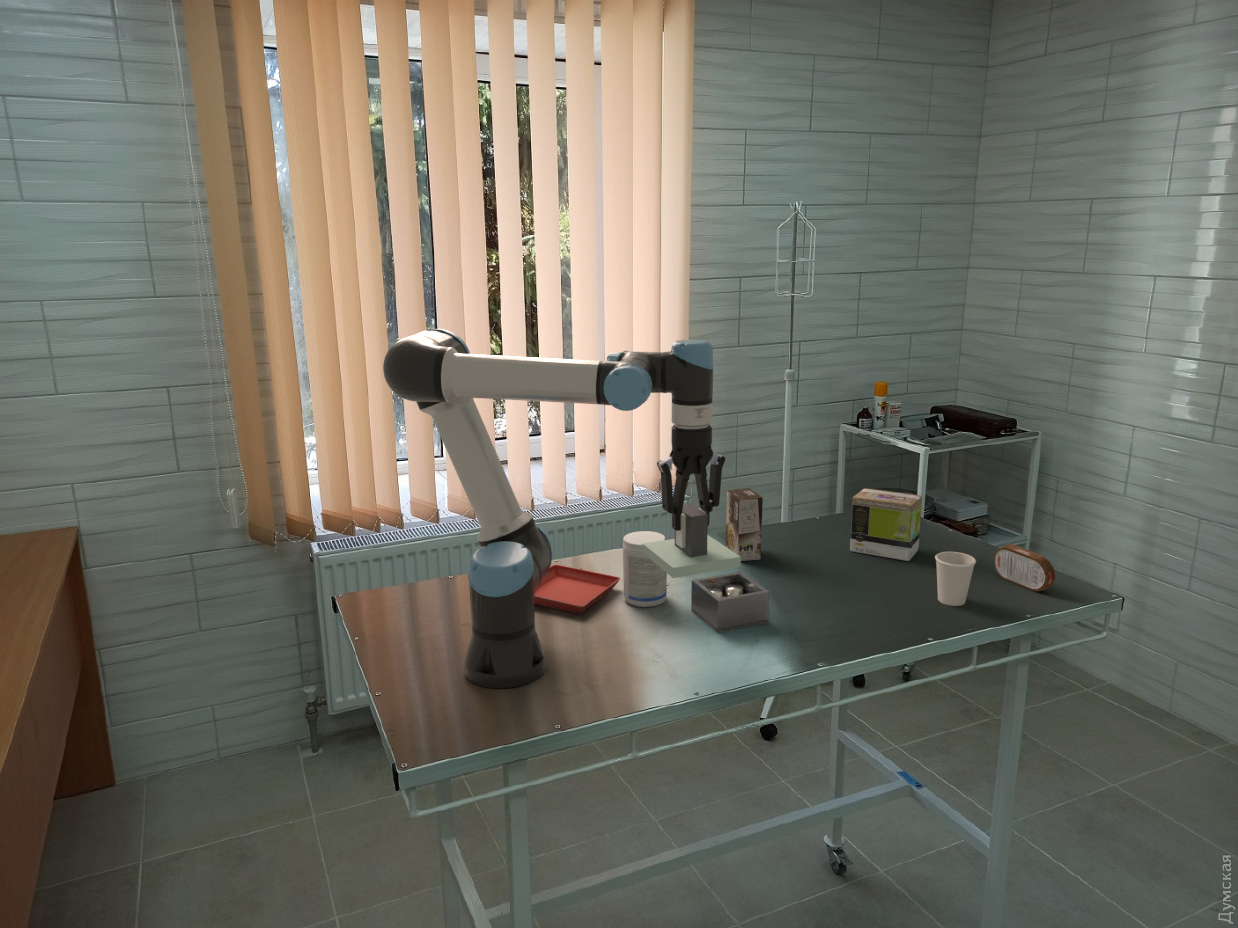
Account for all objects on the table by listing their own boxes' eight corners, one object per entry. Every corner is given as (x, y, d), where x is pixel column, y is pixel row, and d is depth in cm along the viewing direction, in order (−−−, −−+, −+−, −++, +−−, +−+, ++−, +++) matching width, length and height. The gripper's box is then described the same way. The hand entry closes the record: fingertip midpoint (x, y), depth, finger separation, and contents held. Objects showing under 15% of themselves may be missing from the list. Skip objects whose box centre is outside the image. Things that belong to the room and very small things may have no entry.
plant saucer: (621, 589, 205) (621, 576, 204) (583, 620, 190) (582, 605, 189) (554, 576, 213) (554, 563, 212) (512, 604, 198) (511, 590, 197)
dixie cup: (928, 604, 195) (932, 561, 192) (934, 590, 202) (938, 549, 200) (969, 611, 191) (973, 567, 189) (974, 597, 198) (978, 554, 196)
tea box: (919, 550, 227) (923, 494, 223) (908, 562, 219) (913, 505, 215) (860, 540, 235) (864, 486, 231) (848, 551, 226) (851, 496, 223)
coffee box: (761, 559, 222) (763, 497, 217) (737, 562, 220) (739, 499, 216) (748, 547, 230) (750, 487, 226) (724, 549, 229) (726, 489, 224)
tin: (1054, 594, 199) (1058, 559, 197) (1044, 597, 198) (1048, 562, 196) (998, 572, 212) (1002, 539, 210) (989, 574, 211) (992, 541, 209)
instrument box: (717, 632, 182) (718, 601, 180) (691, 610, 193) (691, 579, 191) (768, 622, 187) (769, 591, 185) (739, 601, 197) (740, 571, 195)
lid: (673, 578, 163) (673, 526, 160) (642, 553, 176) (642, 504, 173) (740, 566, 168) (741, 516, 166) (706, 543, 181) (706, 495, 178)
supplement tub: (675, 602, 197) (675, 539, 193) (639, 612, 192) (639, 548, 188) (649, 587, 205) (649, 527, 201) (615, 597, 200) (614, 535, 196)
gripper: (659, 433, 159) (659, 556, 165) (741, 424, 165) (738, 544, 171) (642, 424, 165) (643, 543, 171) (721, 416, 171) (719, 532, 177)
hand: (690, 543), depth 171 cm, fingers closed on lid, 3 cm apart
